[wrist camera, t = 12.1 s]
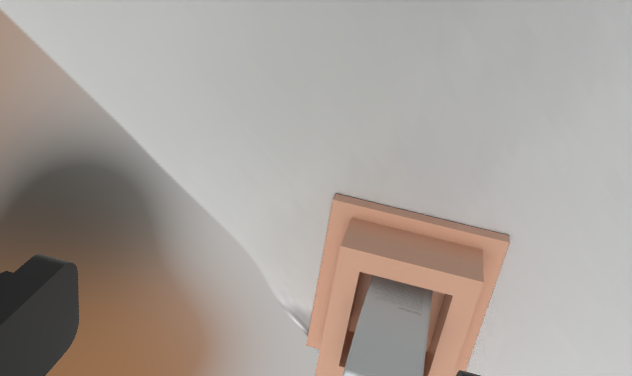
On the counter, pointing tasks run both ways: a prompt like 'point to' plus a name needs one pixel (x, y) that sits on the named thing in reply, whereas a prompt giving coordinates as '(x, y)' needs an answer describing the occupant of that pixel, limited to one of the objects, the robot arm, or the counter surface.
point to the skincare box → (390, 330)
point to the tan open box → (403, 279)
